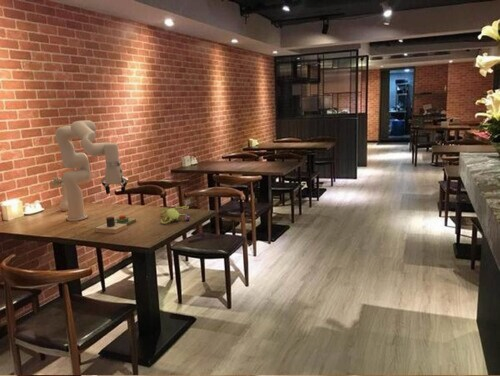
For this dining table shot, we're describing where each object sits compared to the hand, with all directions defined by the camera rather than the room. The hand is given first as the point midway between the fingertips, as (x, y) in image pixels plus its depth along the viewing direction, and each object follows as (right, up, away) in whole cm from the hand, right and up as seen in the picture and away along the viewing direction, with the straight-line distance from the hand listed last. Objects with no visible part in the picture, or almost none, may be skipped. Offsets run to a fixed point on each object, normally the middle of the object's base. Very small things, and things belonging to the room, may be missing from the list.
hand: (115, 193), depth 246 cm
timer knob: (-3, -19, -1) cm, 19 cm away
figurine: (+31, -16, +22) cm, 41 cm away
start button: (0, -15, +13) cm, 20 cm away
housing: (0, -18, +13) cm, 23 cm away
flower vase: (-53, -13, +55) cm, 77 cm away
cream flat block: (-2, -21, 0) cm, 21 cm away
